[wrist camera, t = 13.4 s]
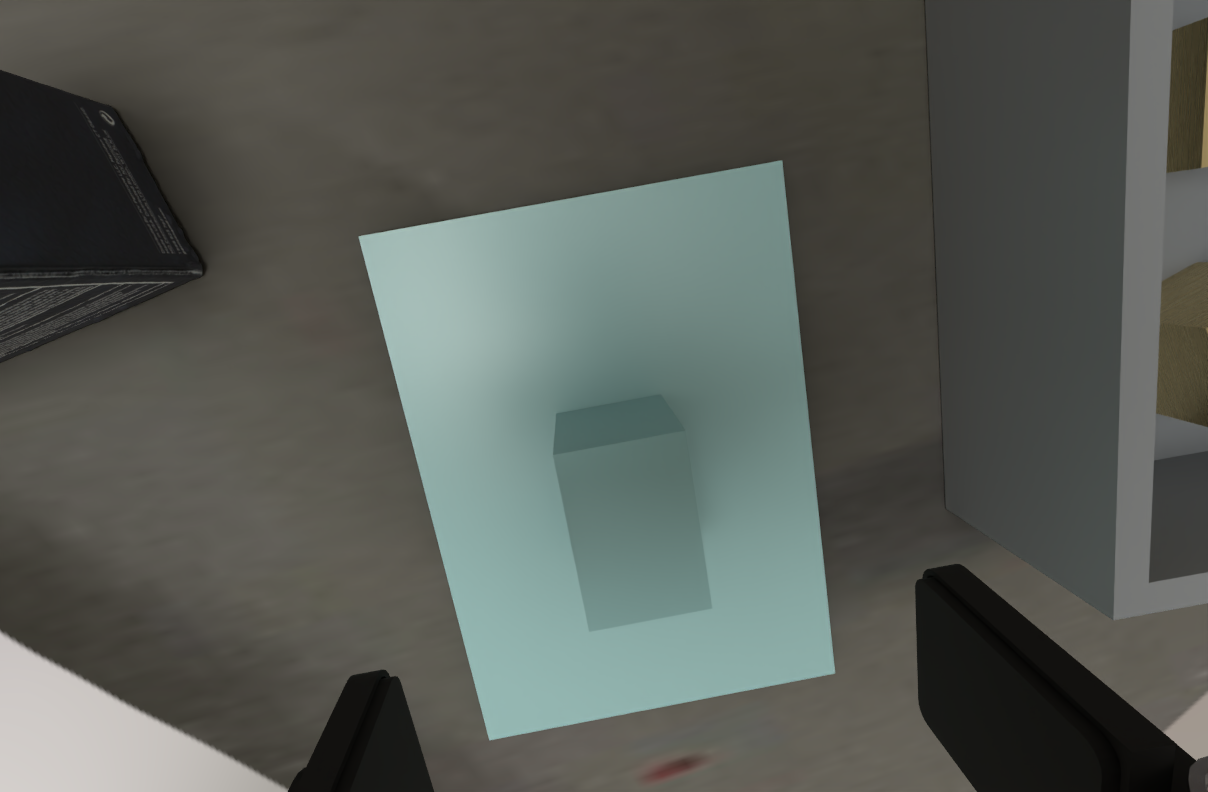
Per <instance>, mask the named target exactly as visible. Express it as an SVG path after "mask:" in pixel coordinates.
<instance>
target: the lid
mask: <svg viewBox="0 0 1208 792" xmlns="http://www.w3.org/2000/svg"><path fill="white" fill-rule="evenodd" d="M359 240H360V244H361V248H362V252H363V255H364V259H365V263H366V267H367V271H368V275H369V278H370V282H371V286H372V290H373V294H374V298H375V302H376V305H377V309H378V313H379V317H380V321H381V325H382V329H383V332H384V336H385V340H386V344H387V348H388V352H389V355H390V359H391V363H392V367H393V371H394V375H395V379H396V382H397V386H398V390H399V394H400V398H401V402H402V405H403V409H404V413H405V417H406V421H407V425H408V429H409V432H410V436H411V440H412V444H413V448H414V452H415V456H416V459H417V463H418V467H419V471H420V475H421V479H422V482H423V486H424V490H425V494H426V498H427V502H428V506H429V509H430V513H431V517H432V521H433V525H434V529H435V533H436V536H437V540H438V544H439V548H440V552H441V556H442V559H443V563H444V567H445V571H446V575H447V579H448V583H449V586H450V590H451V594H452V598H453V602H454V606H455V609H456V613H457V617H458V621H459V625H460V629H461V633H462V636H463V640H464V644H465V648H466V652H467V656H468V660H469V663H470V667H471V671H472V675H473V679H474V683H475V686H476V690H477V694H478V698H479V702H480V706H481V710H482V713H483V717H484V721H485V725H486V729H487V733H488V737H489V740H493V739H499V738H504V737H509V736H514V735H519V734H524V733H530V732H535V731H540V730H545V729H550V728H555V727H561V726H566V725H571V724H576V723H581V722H586V721H592V720H597V719H602V718H607V717H612V716H617V715H623V714H628V713H633V712H638V711H643V710H648V709H654V708H659V707H664V706H669V705H674V704H679V703H685V702H690V701H695V700H700V699H705V698H710V697H716V696H721V695H726V694H731V693H736V692H741V691H747V690H752V689H757V688H762V687H767V686H772V685H778V684H783V683H788V682H793V681H798V680H803V679H809V678H814V677H819V676H824V675H829V674H834V673H835V668H834V658H833V648H832V639H831V629H830V619H829V610H828V600H827V590H826V580H825V571H824V561H823V551H822V542H821V532H820V522H819V513H818V503H817V493H816V483H815V474H814V464H813V454H812V445H811V435H810V425H809V416H808V406H807V396H806V386H805V377H804V367H803V357H802V348H801V338H800V328H799V318H798V309H797V299H796V289H795V280H794V270H793V260H792V251H791V241H790V231H789V221H788V212H787V202H786V192H785V183H784V173H783V163H782V160H781V161H775V162H770V163H764V164H759V165H753V166H748V167H742V168H736V169H731V170H725V171H720V172H714V173H709V174H703V175H698V176H692V177H686V178H681V179H675V180H670V181H664V182H659V183H653V184H647V185H642V186H636V187H631V188H625V189H620V190H614V191H608V192H603V193H597V194H592V195H586V196H581V197H575V198H569V199H564V200H558V201H553V202H547V203H542V204H536V205H530V206H525V207H519V208H514V209H508V210H503V211H497V212H491V213H486V214H480V215H475V216H469V217H464V218H458V219H452V220H447V221H441V222H436V223H430V224H425V225H419V226H413V227H408V228H402V229H397V230H391V231H386V232H380V233H374V234H369V235H363V236H359Z"/></svg>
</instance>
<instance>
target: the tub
mask: <svg viewBox="0 0 1208 792" xmlns="http://www.w3.org/2000/svg"><path fill="white" fill-rule="evenodd" d="M925 12H926V37H927V62H928V86H929V111H930V136H931V160H932V185H933V209H934V234H935V259H936V283H937V308H938V333H939V357H940V382H941V407H942V431H943V456H944V480H945V505H946V509H947V510H949V511H950V512H952V513H953V514H955V515H956V516H958V517H959V518H961V519H962V520H964V521H965V522H967V523H968V524H970V525H971V526H973V527H974V528H976V529H977V530H979V531H980V532H982V533H983V534H985V535H986V536H988V537H989V538H991V539H992V540H994V541H995V542H997V543H998V544H1000V545H1001V546H1003V547H1004V548H1006V549H1007V550H1009V551H1010V552H1012V553H1013V554H1015V555H1016V556H1018V557H1019V558H1021V559H1022V560H1024V561H1025V562H1027V563H1028V564H1030V565H1031V566H1033V567H1034V568H1036V569H1037V570H1039V571H1040V572H1042V573H1043V574H1045V575H1046V576H1048V577H1049V578H1051V579H1052V580H1054V581H1055V582H1057V583H1058V584H1060V585H1061V586H1063V587H1064V588H1066V589H1067V590H1069V591H1070V592H1072V593H1073V594H1075V595H1076V596H1078V597H1079V598H1081V599H1082V600H1084V601H1085V602H1087V603H1088V604H1090V605H1091V606H1093V607H1094V608H1096V609H1097V610H1099V611H1100V612H1102V613H1103V614H1105V615H1106V616H1108V617H1109V618H1111V619H1112V620H1118V619H1123V618H1129V617H1134V616H1139V615H1145V614H1150V613H1156V612H1161V611H1167V610H1172V609H1178V608H1183V607H1189V606H1194V605H1200V604H1205V603H1208V427H1205V426H1202V425H1198V424H1194V423H1190V422H1187V421H1183V420H1179V419H1175V418H1171V417H1168V416H1164V415H1160V414H1156V401H1157V378H1158V354H1159V331H1160V307H1161V284H1162V281H1163V280H1165V279H1167V278H1168V277H1170V276H1172V275H1174V274H1176V273H1178V272H1180V271H1181V270H1183V269H1185V268H1187V267H1189V266H1191V265H1192V264H1194V263H1196V262H1208V167H1204V168H1198V169H1191V170H1184V171H1177V172H1170V173H1166V167H1167V144H1168V121H1169V97H1170V74H1171V50H1172V31H1173V30H1175V29H1178V28H1180V27H1183V26H1186V25H1188V24H1191V23H1194V22H1196V21H1199V20H1202V19H1204V18H1207V17H1208V0H925Z"/></svg>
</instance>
